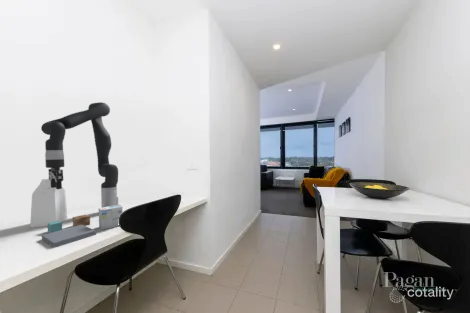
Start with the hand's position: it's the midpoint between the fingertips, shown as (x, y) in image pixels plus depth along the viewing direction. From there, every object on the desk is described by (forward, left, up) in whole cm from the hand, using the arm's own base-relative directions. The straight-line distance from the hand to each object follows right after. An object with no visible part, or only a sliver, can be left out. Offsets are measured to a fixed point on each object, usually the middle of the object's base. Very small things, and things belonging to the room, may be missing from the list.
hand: (56, 188), depth 107 cm
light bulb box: (-17, +22, -22) cm, 36 cm away
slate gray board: (+1, +20, -22) cm, 30 cm away
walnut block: (-9, +6, -22) cm, 25 cm away
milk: (-1, -15, -22) cm, 27 cm away
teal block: (+2, +4, -22) cm, 23 cm away
